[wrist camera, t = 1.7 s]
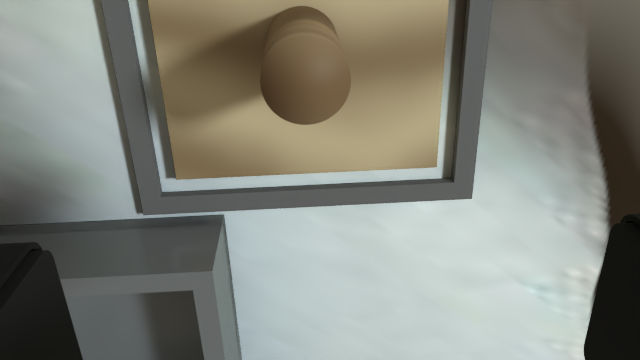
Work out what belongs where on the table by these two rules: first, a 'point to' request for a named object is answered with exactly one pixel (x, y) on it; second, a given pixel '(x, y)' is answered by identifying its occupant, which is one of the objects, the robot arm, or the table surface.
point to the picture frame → (305, 195)
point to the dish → (144, 286)
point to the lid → (300, 84)
